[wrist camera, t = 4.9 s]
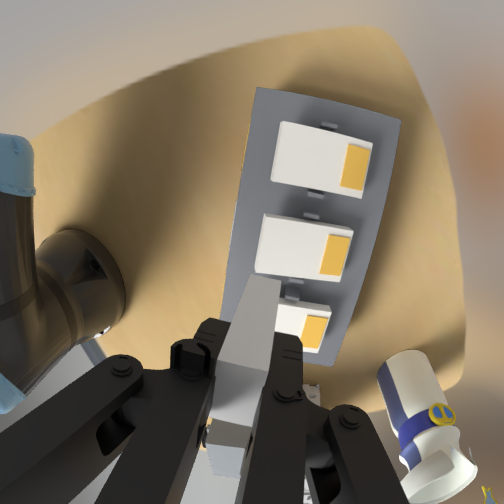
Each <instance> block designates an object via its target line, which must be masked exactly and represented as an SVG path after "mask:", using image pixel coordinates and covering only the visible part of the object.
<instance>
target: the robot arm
mask: <svg viewBox="0 0 504 504" xmlns="http://www.w3.org/2000/svg"><path fill="white" fill-rule="evenodd" d="M35 194H36V189H35V187H34V152H33V148H32V146H31V144H30V143H29V141H28V140H27V139H25V138H24V137H21V136H17V135H10V134H1V133H0V414H4V413H8V412H9V411H10V410H12V409H13V408H14V407H15V406H16V405H17V404H18V403H19V402H20V401H21V400H25V399H26V397H27V395H28V394H29V393H30V392H31V391H32V390H33V389H34V388H35V387H36V386H37V384H38V383H39V382H40V381H41V380H42V379H43V378H44V377H45V376H46V375H47V374H48V373H49V372H50V371H51V369H52V368H53V367H54V366H55V365H56V364H57V363H58V362H59V361H60V360H61V359H62V358H63V357H64V356H65V355H66V354H67V352H68V351H70V350H71V349H72V348H73V347H74V346H75V345H78V344H81V343H84V342H86V341H89V340H91V339H92V338H96V337H99V336H102V335H104V334H105V333H107V332H108V331H109V330H110V329H111V328H112V327H113V326H114V325H115V324H116V323H117V322H118V321H119V320H120V318H121V316H122V314H123V311H124V307H125V289H124V284H123V280H122V276H121V274H120V271H119V269H118V267H117V265H116V263H115V261H114V259H113V258H112V256H111V255H110V253H109V252H108V251H107V249H106V248H105V247H104V246H103V245H102V244H101V243H100V242H99V241H98V240H96V239H95V238H94V237H92V236H91V235H89V234H87V233H85V232H83V231H80V230H76V229H66V230H62V231H60V232H58V233H55V234H53V235H51V236H49V237H48V238H46V239H45V240H44V241H43V242H42V244H41V245H40V246H39V248H38V249H37V250H36V251H35V243H34V219H33V196H34V195H35ZM280 288H281V281H280V280H275V279H271V278H266V277H261V276H257V275H252V274H250V276H249V279H248V281H247V284H246V287H245V289H244V292H243V294H242V297H241V299H240V302H239V305H238V307H237V310H236V312H235V315H234V317H233V320H232V323H231V322H227V321H223V320H218V319H214V318H208V319H207V320H205V321H204V322H202V323H201V325H200V326H199V328H198V330H197V332H196V334H195V335H194V338H193V339H182V340H180V341H177V342H175V343H174V344H173V345H172V346H171V355H170V368H169V369H164V370H151V369H143V366H142V364H141V362H140V361H138V360H137V359H136V358H134V357H132V356H129V355H122V354H119V355H113V356H111V357H108V358H106V359H105V360H103V361H102V362H101V363H99V364H98V365H96V366H95V367H94V368H92V369H91V370H89V371H88V372H86V373H85V374H84V375H82V376H81V377H79V378H78V379H77V380H75V381H74V382H72V383H71V384H69V385H68V386H67V387H65V388H64V389H63V390H61V391H59V392H58V393H57V394H55V395H54V396H53V397H51V398H50V399H48V400H47V401H45V402H44V403H43V404H41V405H40V406H38V407H37V408H35V409H34V410H33V411H31V412H30V413H28V414H27V415H25V416H24V417H23V418H21V419H20V420H19V421H17V422H15V423H14V424H13V425H11V426H10V427H8V428H7V429H5V430H4V431H3V432H1V433H0V504H68V503H69V502H70V501H71V500H72V499H74V498H75V497H76V496H77V495H78V494H79V493H80V492H81V491H82V490H83V489H84V488H85V487H86V486H87V485H89V484H90V483H91V482H92V481H93V480H94V479H95V478H96V477H97V476H98V475H99V474H100V473H101V472H102V471H103V470H104V469H105V468H106V467H107V466H108V465H109V464H110V463H111V462H112V461H113V460H114V459H115V458H116V457H117V456H118V455H119V454H121V453H122V454H121V456H120V458H119V459H118V461H117V463H116V465H115V467H114V468H113V470H112V472H111V474H110V476H109V477H108V479H107V481H106V483H105V485H104V487H103V488H102V490H101V492H100V494H99V496H98V498H97V499H96V501H95V503H94V504H180V502H181V499H182V496H183V493H184V490H185V487H186V485H187V482H188V479H189V476H190V473H191V470H192V467H193V464H194V462H195V459H196V456H197V453H198V450H199V447H200V444H201V441H202V439H203V436H204V433H205V430H206V423H207V419H208V416H209V417H211V418H214V419H218V420H222V421H227V422H231V423H235V424H240V425H244V426H249V427H252V430H251V433H250V436H249V440H248V443H247V446H246V449H245V451H246V454H245V459H244V464H243V468H242V473H241V477H240V482H239V487H238V491H237V496H236V501H235V504H303V501H304V484H305V476H306V480H307V484H308V487H309V491H310V495H311V499H312V503H313V504H410V503H409V501H408V499H407V496H406V494H405V492H404V490H403V488H402V485H401V483H400V481H399V479H398V477H397V474H396V472H395V470H394V468H393V466H392V464H391V462H390V459H389V457H388V455H387V453H386V451H385V449H384V447H383V445H382V443H381V441H380V439H379V436H378V434H377V432H376V430H375V428H374V426H373V424H372V422H371V420H370V418H369V416H368V415H367V414H366V412H364V411H363V410H362V409H360V408H359V407H356V406H353V405H346V404H343V405H339V406H336V407H335V408H333V409H332V410H328V409H325V408H323V407H320V406H318V405H316V404H314V403H313V402H312V401H310V400H309V399H308V398H307V396H306V392H305V391H304V390H303V344H302V342H301V340H300V339H299V337H298V336H296V335H291V334H286V333H281V332H276V331H275V324H276V317H277V310H278V303H279V295H280ZM209 413H210V414H209Z"/></svg>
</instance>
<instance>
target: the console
mask: <svg viewBox="0 0 504 504" xmlns="http://www.w3.org/2000/svg"><path fill="white" fill-rule="evenodd" d="M282 121H286V122H291V123H296V124H300V125H305V126H309V127H314V128H318V129H322V130H326V131H330V132H334V133H338V134H342V135H346V136H349V137H353V138H357V139H360V140H363V141H367V142H370V143H373V145H372V151H371V156H370V161H369V166H368V171H367V176H366V181H365V185H364V190H363V194H362V199H360V198H355V197H351V196H346V195H342V194H337V193H332V192H327V191H322V190H317V189H312V188H307V187H301V186H296V185H290V184H285V183H279V182H273V181H271V180H270V178H271V172H272V166H273V161H274V155H275V150H276V144H277V138H278V133H279V127H280V122H282ZM400 126H401V120H400V119H397V118H394V117H391V116H388V115H385V114H381V113H378V112H374V111H371V110H367V109H364V108H360V107H356V106H352V105H349V104H345V103H340V102H336V101H332V100H327V99H323V98H318V97H313V96H308V95H303V94H298V93H293V92H287V91H281V90H274V89H268V88H261V87H257V88H256V93H255V99H254V104H253V110H252V116H251V121H250V123H249V128H248V134H247V140H246V146H245V152H244V157H243V163H242V169H241V171H242V174H241V180H240V186H239V192H238V199H237V200H236V207H235V213H234V219H233V226H232V232H231V239H230V245H229V248H230V250H229V257H228V263H227V270H226V273H225V279H224V286H223V293H222V300H221V307H220V319H219V320H223V321H227V322H231V323H232V320H233V317H234V315H235V312H236V310H237V307H238V305H239V302H240V299H241V297H242V294H243V292H244V289H245V287H246V284H247V281H248V279H249V276H250V274H252V275H257V276H261V277H266V278H271V279H275V280H280V281H281V288H280V295H279V298H285V299H289V300H294V301H304V302H310V303H316V304H323V305H329V306H330V309H331V312H332V313H331V316H330V319H329V322H328V325H327V328H326V331H325V334H324V337H323V340H322V343H321V346H320V348H319V351H318V353H311V352H304V351H303V362H304V363H310V364H316V365H323V366H329V367H333V364H334V362H335V359H336V357H337V354H338V352H339V349H340V347H341V344H342V341H343V339H344V336H345V333H346V331H347V328H348V325H349V323H350V320H351V317H352V314H353V311H354V308H355V305H356V302H357V300H358V297H359V293H360V290H361V287H362V284H363V281H364V278H365V275H366V271H367V268H368V265H369V262H370V258H371V255H372V251H373V248H374V244H375V241H376V237H377V233H378V229H379V226H380V222H381V218H382V214H383V210H384V206H385V202H386V197H387V193H388V189H389V184H390V179H391V175H392V170H393V165H394V160H395V155H396V149H397V144H398V138H399V132H400ZM264 213H267V214H274V215H280V216H287V217H293V218H299V219H305V220H311V221H317V222H323V223H329V224H334V225H340V226H346V227H349V228H350V229H352V230H353V231H354V232H353V236H352V240H351V244H350V247H349V251H348V255H347V258H346V262H345V266H344V269H343V273H342V276H341V279H340V282H333V281H324V280H315V279H306V278H298V277H289V276H281V275H272V274H264V273H256V272H255V267H254V266H255V260H256V255H257V249H258V244H259V238H260V233H261V227H262V222H263V216H264Z"/></svg>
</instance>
